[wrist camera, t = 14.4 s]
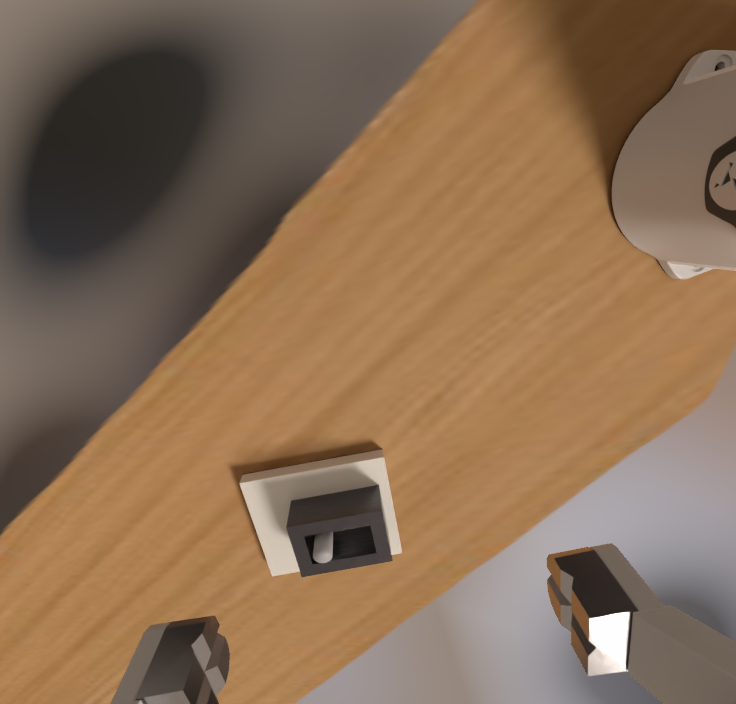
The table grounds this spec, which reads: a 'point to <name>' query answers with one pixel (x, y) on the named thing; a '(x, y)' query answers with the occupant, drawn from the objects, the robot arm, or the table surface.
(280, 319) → the table surface
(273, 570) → the keeper plate
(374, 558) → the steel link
